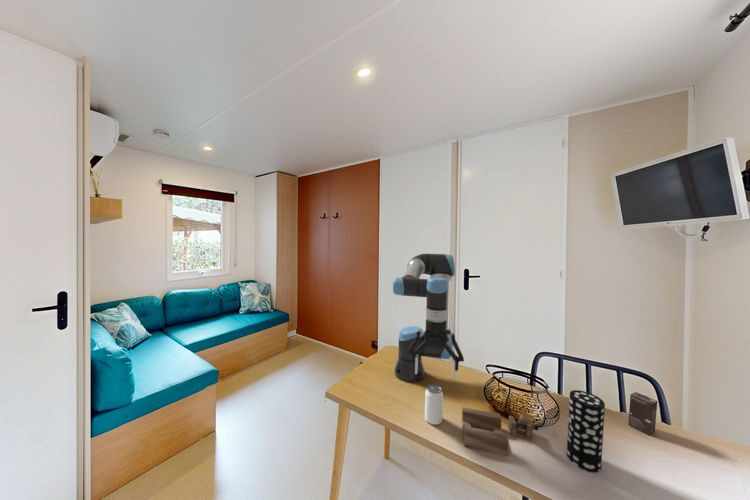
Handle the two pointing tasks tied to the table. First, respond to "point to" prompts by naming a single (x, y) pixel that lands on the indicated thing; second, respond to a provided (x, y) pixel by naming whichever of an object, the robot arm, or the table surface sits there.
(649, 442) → the table surface
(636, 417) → the box
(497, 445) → the hitch block
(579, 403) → the white-spotted black cylinder
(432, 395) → the can
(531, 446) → the table surface
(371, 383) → the table surface
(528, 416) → the keeper
